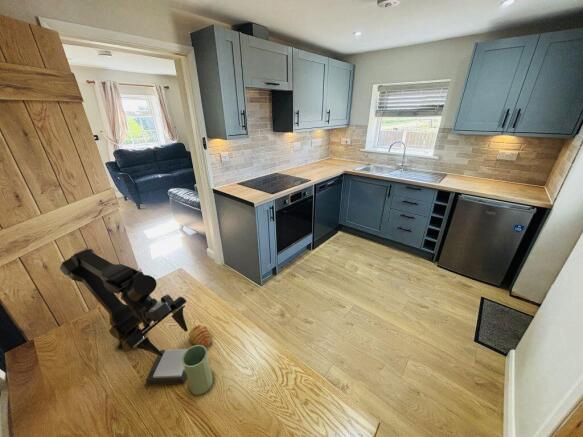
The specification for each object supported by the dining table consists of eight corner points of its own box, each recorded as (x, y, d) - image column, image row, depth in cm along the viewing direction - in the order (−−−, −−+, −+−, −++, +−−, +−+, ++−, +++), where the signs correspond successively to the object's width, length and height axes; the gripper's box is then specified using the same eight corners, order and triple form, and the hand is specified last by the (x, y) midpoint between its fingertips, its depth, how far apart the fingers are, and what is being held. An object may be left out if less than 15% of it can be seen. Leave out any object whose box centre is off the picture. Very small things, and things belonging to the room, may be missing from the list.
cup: (186, 395, 71) (178, 367, 66) (193, 372, 77) (186, 345, 72) (209, 394, 71) (203, 366, 66) (215, 371, 77) (209, 344, 72)
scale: (147, 384, 74) (144, 378, 72) (162, 354, 83) (160, 348, 81) (183, 383, 74) (181, 377, 73) (194, 353, 83) (192, 347, 82)
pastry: (216, 342, 87) (215, 335, 85) (198, 354, 83) (196, 347, 81) (204, 327, 93) (203, 320, 92) (187, 337, 89) (185, 330, 87)
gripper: (115, 318, 59) (155, 366, 59) (176, 275, 74) (208, 313, 75) (106, 329, 65) (143, 372, 66) (165, 288, 81) (194, 322, 81)
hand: (174, 342), depth 72 cm, fingers open, 9 cm apart
